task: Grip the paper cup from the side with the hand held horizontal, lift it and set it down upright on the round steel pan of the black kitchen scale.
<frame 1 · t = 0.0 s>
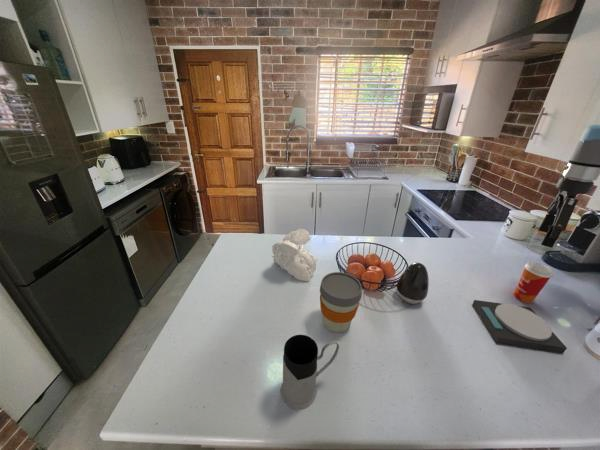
hand: (544, 238, 86), 24 cm above the countertop, tool pointing down, fingers open, 13 cm apart
dark egg shaped ornament: (408, 298, 91), on the countertop
glass holder: (308, 386, 62), on the countertop
paper cup: (522, 298, 93), on the countertop
scale: (512, 326, 80), on the countertop
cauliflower: (293, 268, 105), on the countertop
reusable coffee cup: (336, 321, 80), on the countertop
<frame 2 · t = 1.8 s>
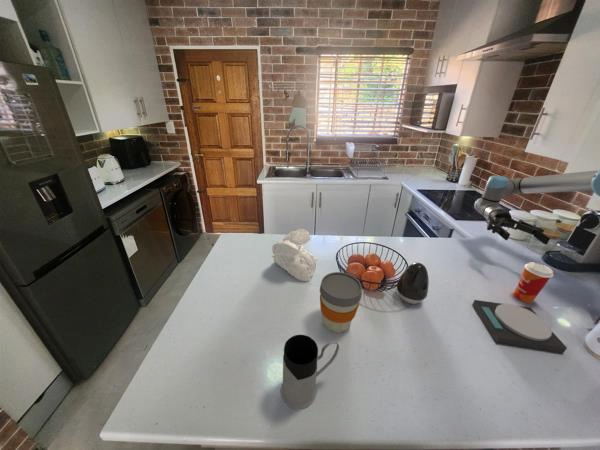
hand: (527, 239, 94), 20 cm above the countertop, tool horizontal, fingers open, 13 cm apart
nothing on the countertop moved.
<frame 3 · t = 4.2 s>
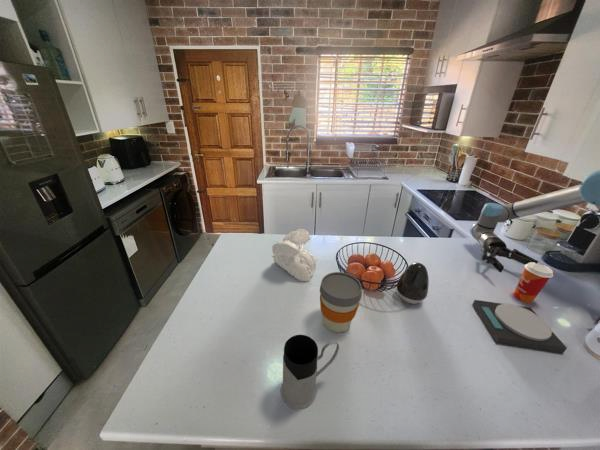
hand: (521, 271, 95), 8 cm above the countertop, tool horizontal, fingers open, 13 cm apart
nothing on the countertop moved.
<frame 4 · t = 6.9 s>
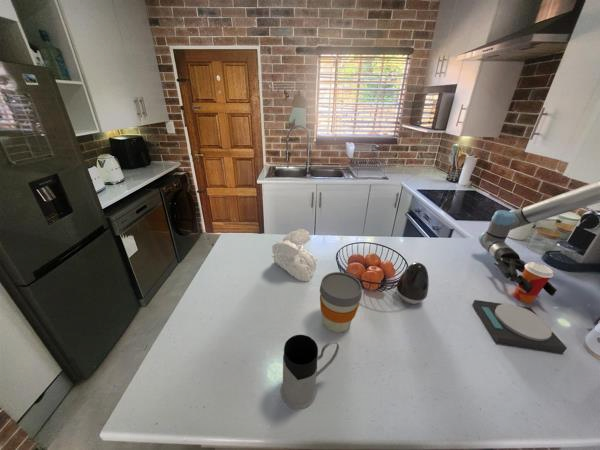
hand: (541, 291, 85), 8 cm above the countertop, tool horizontal, fingers closed on paper cup, 7 cm apart
paper cup: (522, 298, 93), on the countertop, touching gripper
everything else where it was.
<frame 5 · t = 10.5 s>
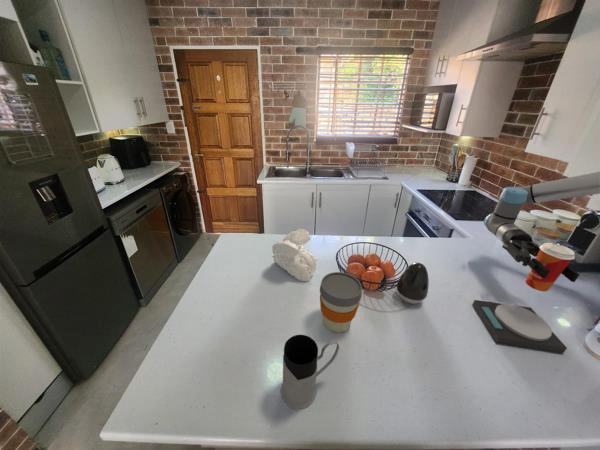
hand: (560, 276, 71), 21 cm above the countertop, tool horizontal, fingers closed on paper cup, 7 cm apart
paper cup: (536, 286, 79), point 13 cm above the countertop, touching gripper
everything else where it was.
when the fingers open (11 cm above the countertop, at t = 14.4 s): paper cup stays where it is, resting on scale.
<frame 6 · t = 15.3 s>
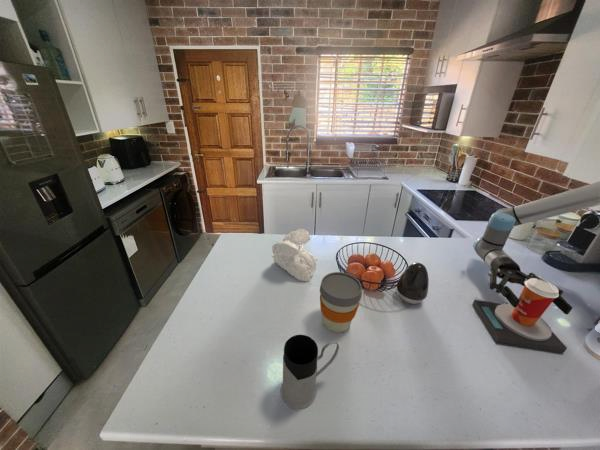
hand: (542, 307, 72), 12 cm above the countertop, tool horizontal, fingers open, 13 cm apart
paper cup: (522, 320, 79), point 3 cm above the countertop, touching scale
everything else where it was.
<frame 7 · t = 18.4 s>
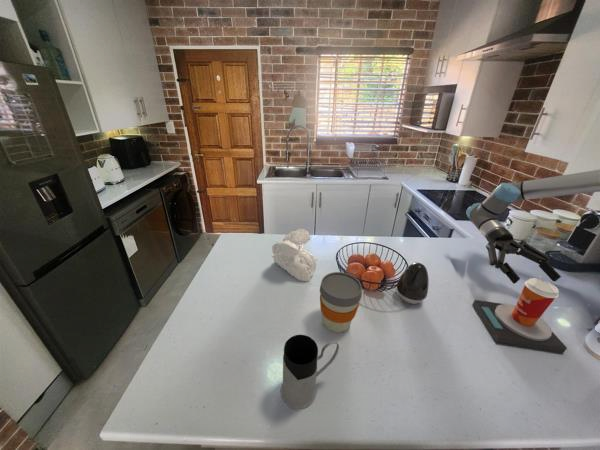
hand: (537, 280, 81), 14 cm above the countertop, tool tilted 75°, fingers open, 13 cm apart
nothing on the countertop moved.
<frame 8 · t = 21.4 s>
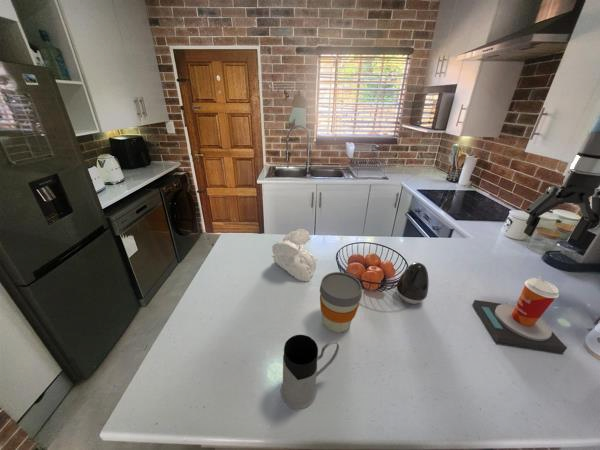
hand: (550, 236, 80), 27 cm above the countertop, tool pointing down, fingers open, 13 cm apart
nothing on the countertop moved.
at the end: paper cup inside the target area on the scale (0.1 cm from its centre), point 3.3 cm above the scale's base; paper cup tilted 0°; the gripper is holding nothing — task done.
